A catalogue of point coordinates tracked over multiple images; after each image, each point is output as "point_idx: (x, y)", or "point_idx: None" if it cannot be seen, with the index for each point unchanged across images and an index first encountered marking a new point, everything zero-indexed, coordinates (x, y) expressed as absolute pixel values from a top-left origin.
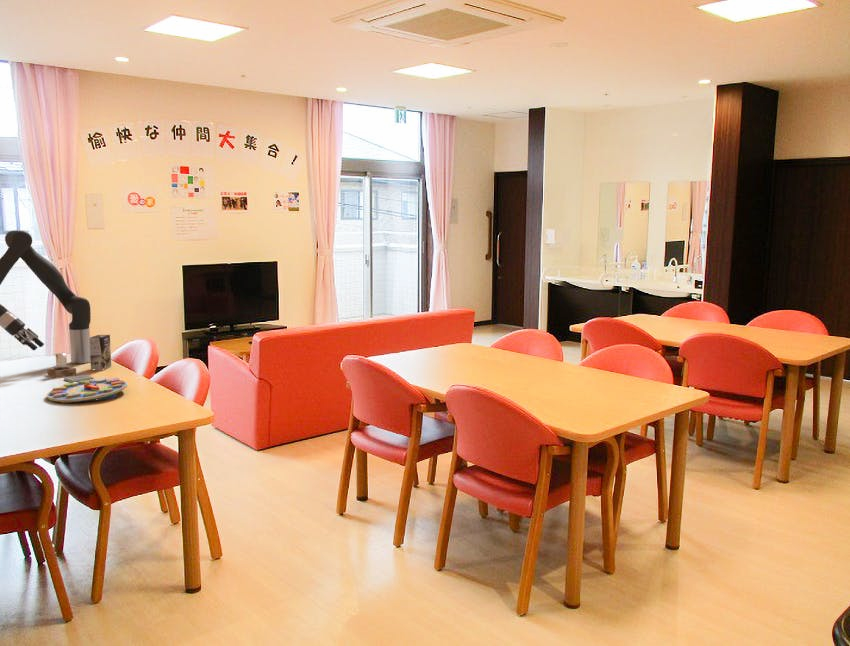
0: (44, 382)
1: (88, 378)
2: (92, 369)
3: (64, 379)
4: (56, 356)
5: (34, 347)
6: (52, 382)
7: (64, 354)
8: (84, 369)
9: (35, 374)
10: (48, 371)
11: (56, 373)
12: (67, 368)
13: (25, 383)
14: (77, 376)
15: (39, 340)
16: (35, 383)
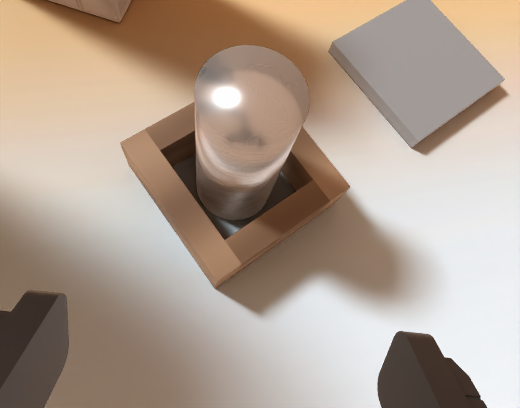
0: (470, 258)
1: (442, 13)
2: (123, 11)
3: (416, 143)
4: (291, 142)
5: (455, 373)
6: (472, 207)
7: (284, 59)
8: (69, 63)
9: (160, 403)
10: (231, 274)
11: (342, 194)
12: (194, 135)
13: (496, 390)
14: (383, 70)
15: (6, 380)
16: (498, 314)
